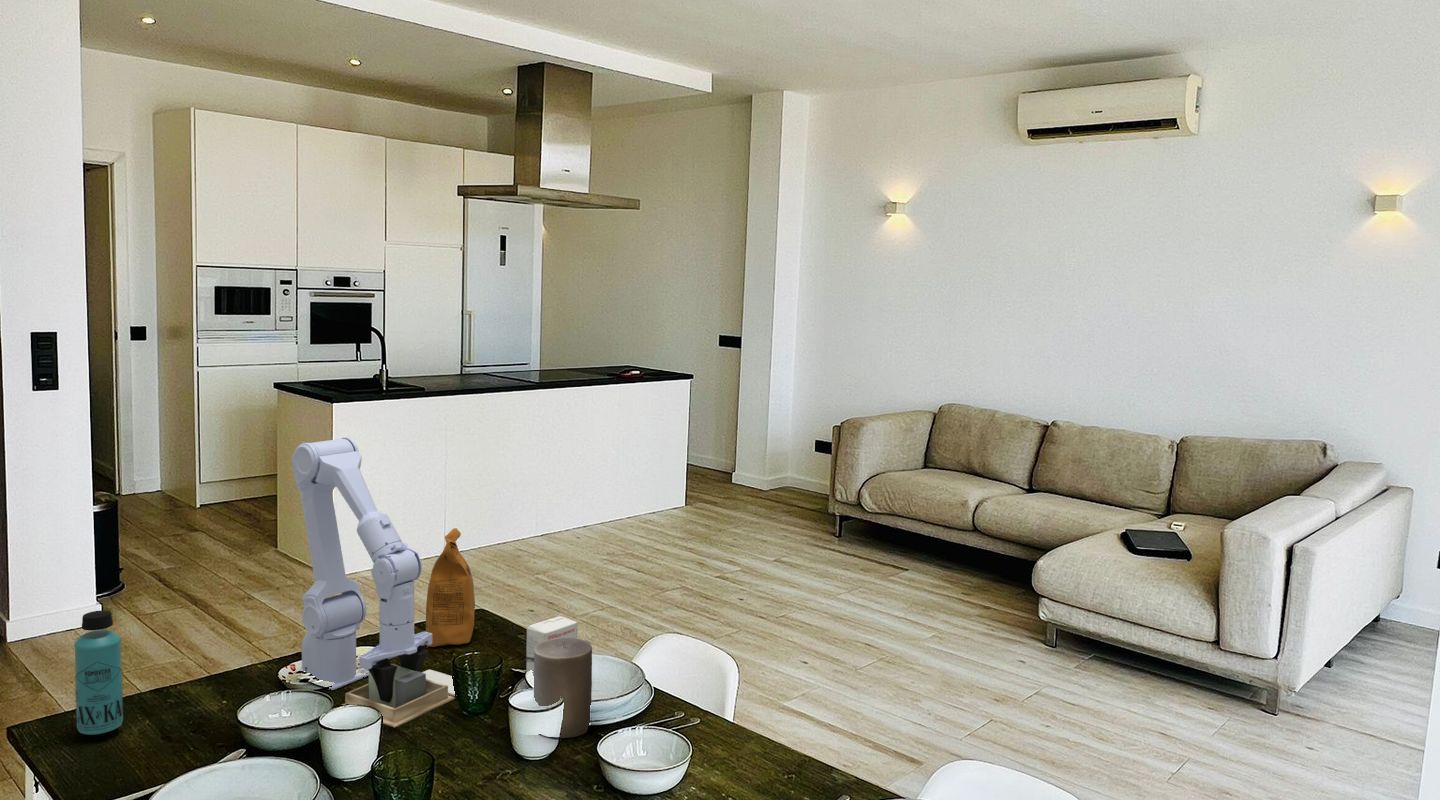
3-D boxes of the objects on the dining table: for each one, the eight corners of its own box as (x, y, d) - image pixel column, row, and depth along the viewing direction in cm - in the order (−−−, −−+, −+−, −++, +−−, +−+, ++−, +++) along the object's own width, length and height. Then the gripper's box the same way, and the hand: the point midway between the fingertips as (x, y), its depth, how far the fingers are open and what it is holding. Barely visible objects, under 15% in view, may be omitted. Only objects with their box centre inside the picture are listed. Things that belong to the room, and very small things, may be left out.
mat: (406, 680, 183) (406, 679, 183) (429, 670, 188) (429, 669, 188) (454, 696, 177) (454, 694, 177) (477, 685, 182) (477, 683, 182)
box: (368, 702, 174) (368, 671, 173) (389, 693, 178) (389, 662, 177) (405, 714, 169) (405, 682, 169) (426, 704, 173) (425, 673, 173)
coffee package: (479, 627, 212) (480, 526, 209) (472, 649, 200) (472, 541, 197) (431, 627, 211) (431, 525, 208) (420, 649, 198) (420, 541, 196)
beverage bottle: (71, 734, 158) (65, 612, 156) (118, 721, 163) (113, 603, 161) (83, 748, 154) (77, 623, 151) (131, 735, 159) (126, 613, 156)
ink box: (543, 696, 179) (544, 633, 177) (524, 688, 181) (525, 626, 180) (578, 682, 185) (579, 620, 184) (559, 675, 188) (560, 614, 187)
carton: (338, 707, 171) (338, 693, 171) (399, 681, 183) (399, 668, 182) (394, 727, 164) (394, 713, 164) (454, 698, 176) (454, 685, 176)
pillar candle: (603, 727, 167) (604, 640, 166) (555, 745, 160) (556, 654, 159) (568, 709, 174) (569, 625, 172) (520, 725, 167) (521, 638, 165)
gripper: (379, 637, 164) (380, 716, 165) (444, 612, 176) (444, 686, 178) (350, 628, 167) (351, 705, 169) (416, 605, 179) (416, 677, 181)
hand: (397, 695), depth 173 cm, fingers closed on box, 4 cm apart
